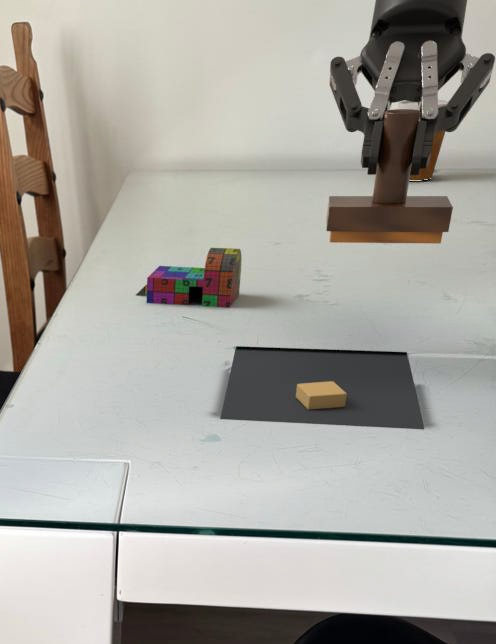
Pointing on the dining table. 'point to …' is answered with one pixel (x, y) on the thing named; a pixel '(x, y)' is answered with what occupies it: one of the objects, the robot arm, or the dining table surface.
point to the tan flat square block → (321, 395)
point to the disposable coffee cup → (437, 142)
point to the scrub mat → (322, 366)
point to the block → (198, 281)
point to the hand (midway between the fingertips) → (394, 168)
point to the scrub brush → (391, 196)
